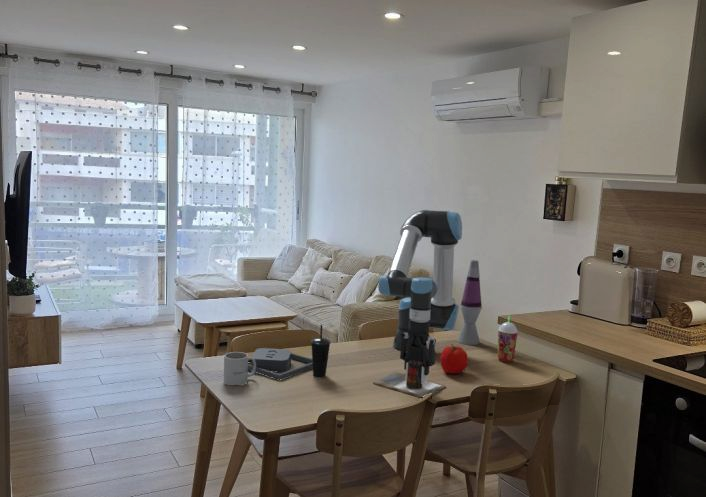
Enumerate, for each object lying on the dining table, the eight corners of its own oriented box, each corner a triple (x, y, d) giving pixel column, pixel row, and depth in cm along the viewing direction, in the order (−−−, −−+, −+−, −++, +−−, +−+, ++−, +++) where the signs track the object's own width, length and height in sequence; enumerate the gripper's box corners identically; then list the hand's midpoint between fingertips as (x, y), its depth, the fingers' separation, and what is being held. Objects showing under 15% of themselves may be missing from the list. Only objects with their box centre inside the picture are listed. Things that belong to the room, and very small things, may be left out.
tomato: (450, 366, 242) (451, 340, 241) (473, 373, 234) (475, 346, 233) (432, 371, 234) (434, 345, 232) (455, 379, 226) (457, 352, 224)
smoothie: (513, 358, 257) (517, 314, 254) (516, 364, 248) (520, 319, 246) (494, 357, 257) (497, 313, 255) (497, 363, 249) (500, 317, 247)
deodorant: (404, 383, 216) (409, 343, 216) (420, 384, 217) (424, 345, 216) (407, 387, 210) (411, 347, 210) (423, 389, 211) (427, 348, 210)
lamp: (457, 343, 276) (463, 261, 271) (457, 337, 286) (462, 258, 281) (480, 345, 274) (486, 262, 269) (479, 339, 285) (485, 259, 280)
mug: (227, 387, 206) (227, 360, 205) (221, 379, 214) (221, 353, 213) (260, 383, 212) (261, 356, 211) (253, 375, 219) (254, 350, 218)
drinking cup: (332, 373, 225) (334, 323, 223) (324, 380, 218) (327, 328, 216) (314, 370, 228) (316, 321, 225) (306, 376, 221) (308, 325, 218)
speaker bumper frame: (235, 366, 229) (235, 361, 229) (277, 353, 248) (277, 348, 248) (279, 380, 215) (279, 375, 215) (319, 365, 234) (319, 361, 234)
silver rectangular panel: (373, 383, 217) (373, 380, 217) (395, 373, 230) (396, 369, 230) (424, 399, 204) (425, 395, 204) (445, 387, 217) (445, 383, 217)
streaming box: (256, 360, 239) (257, 347, 238) (291, 361, 238) (292, 349, 238) (249, 371, 224) (250, 358, 224) (286, 373, 224) (287, 360, 223)
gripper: (392, 317, 214) (388, 377, 217) (437, 326, 203) (433, 389, 206) (402, 313, 220) (399, 372, 223) (447, 322, 209) (443, 384, 212)
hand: (415, 380), depth 214 cm, fingers closed on deodorant, 6 cm apart
